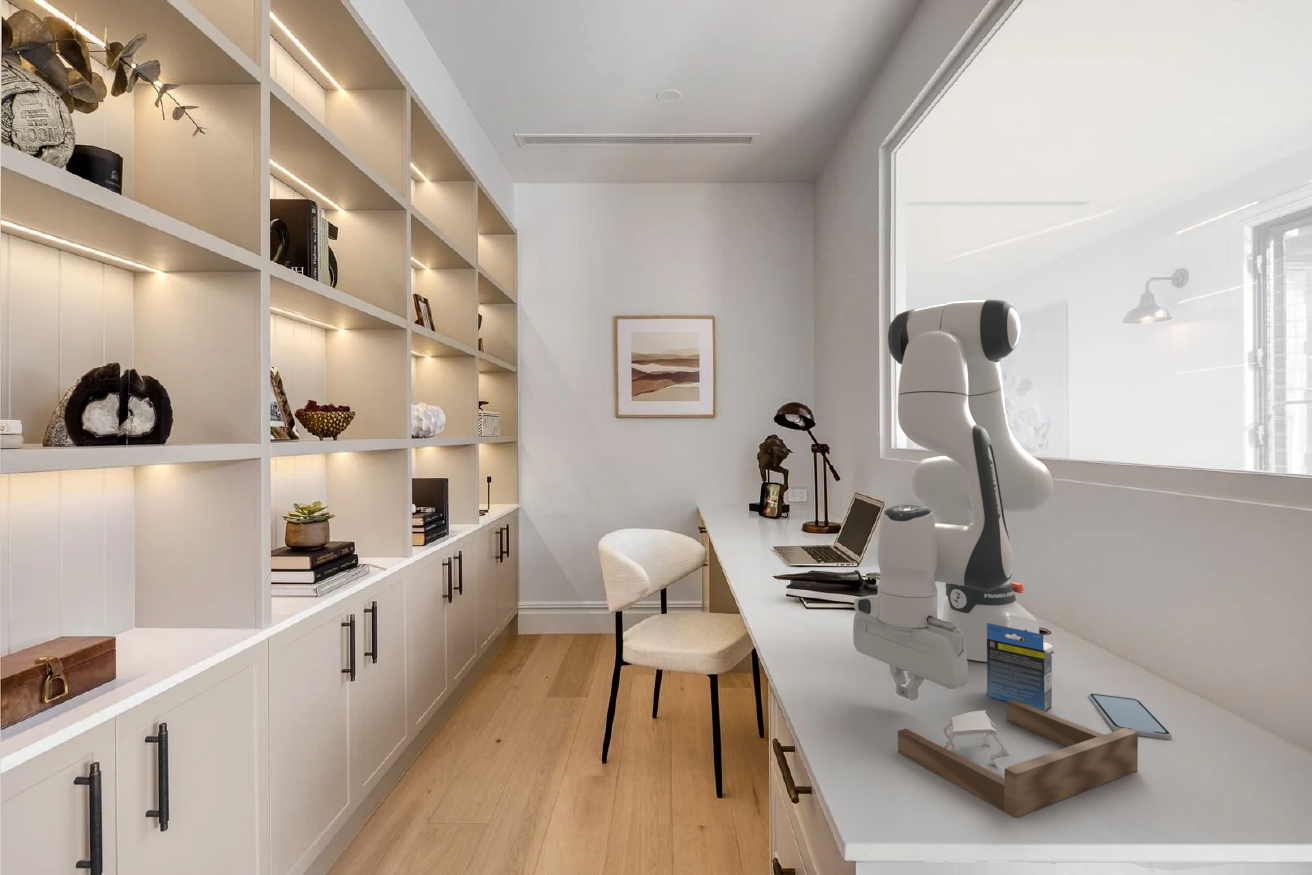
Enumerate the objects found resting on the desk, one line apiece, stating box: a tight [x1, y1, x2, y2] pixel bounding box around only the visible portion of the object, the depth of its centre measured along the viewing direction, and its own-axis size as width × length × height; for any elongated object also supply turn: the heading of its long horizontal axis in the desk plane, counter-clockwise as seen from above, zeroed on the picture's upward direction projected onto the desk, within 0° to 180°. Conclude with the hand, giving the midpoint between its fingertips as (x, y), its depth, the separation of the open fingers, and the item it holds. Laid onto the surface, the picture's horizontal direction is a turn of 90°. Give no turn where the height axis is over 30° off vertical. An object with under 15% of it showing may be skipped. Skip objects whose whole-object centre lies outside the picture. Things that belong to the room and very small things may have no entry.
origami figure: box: [942, 709, 1010, 770], centre depth 92 cm, size 12×8×5 cm
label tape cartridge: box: [986, 623, 1053, 712], centre depth 110 cm, size 9×4×12 cm, turn 42°
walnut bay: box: [897, 700, 1139, 819], centre depth 90 cm, size 24×18×5 cm
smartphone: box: [1088, 693, 1172, 740], centre depth 104 cm, size 7×1×15 cm
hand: (906, 696), depth 106 cm, fingers closed
